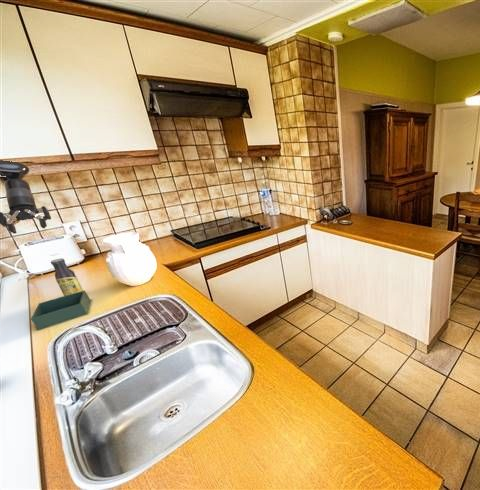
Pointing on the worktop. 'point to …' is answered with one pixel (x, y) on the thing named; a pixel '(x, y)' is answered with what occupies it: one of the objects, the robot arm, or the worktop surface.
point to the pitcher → (129, 259)
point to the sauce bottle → (66, 278)
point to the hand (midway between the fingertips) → (28, 229)
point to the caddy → (60, 309)
